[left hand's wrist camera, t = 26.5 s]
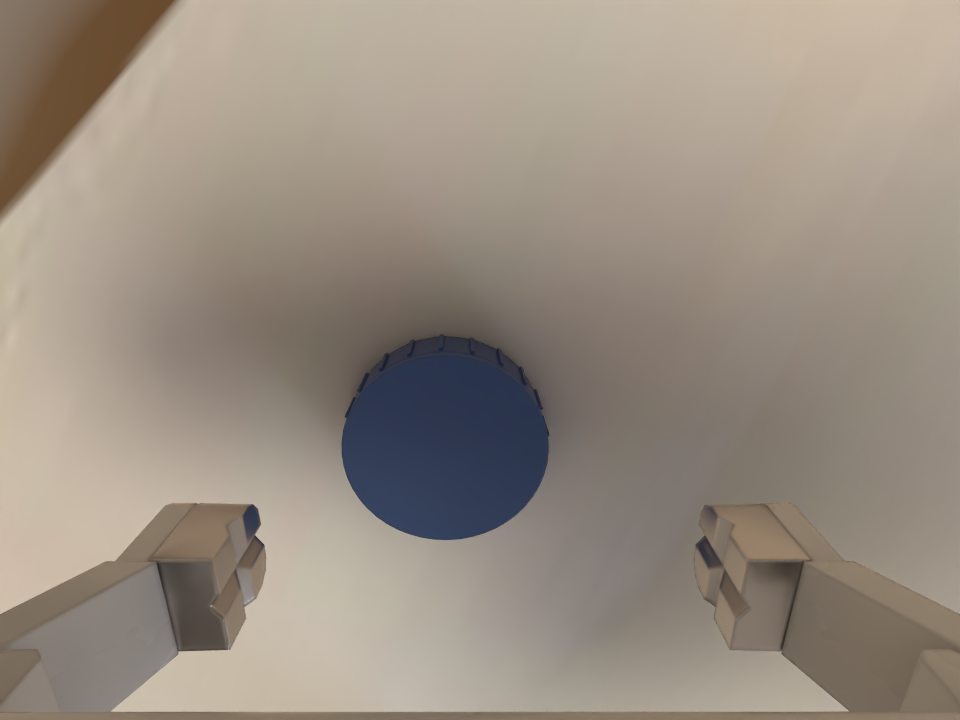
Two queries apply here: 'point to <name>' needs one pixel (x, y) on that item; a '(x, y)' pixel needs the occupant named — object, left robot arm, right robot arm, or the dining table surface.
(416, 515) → the lid
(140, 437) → the dining table surface
